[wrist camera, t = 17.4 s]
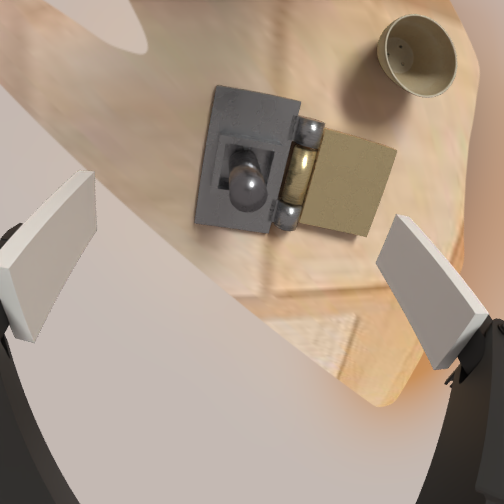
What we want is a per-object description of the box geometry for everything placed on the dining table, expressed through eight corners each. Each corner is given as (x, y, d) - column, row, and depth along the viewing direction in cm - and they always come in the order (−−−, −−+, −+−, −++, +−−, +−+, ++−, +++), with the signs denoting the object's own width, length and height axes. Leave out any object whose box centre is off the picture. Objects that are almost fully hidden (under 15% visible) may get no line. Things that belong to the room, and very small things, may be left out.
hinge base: (216, 85, 34) (215, 86, 31) (324, 107, 36) (333, 111, 34) (195, 219, 43) (192, 232, 40) (290, 233, 46) (295, 246, 43)
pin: (230, 148, 38) (231, 174, 29) (260, 152, 38) (270, 179, 30) (226, 176, 39) (227, 210, 31) (255, 179, 40) (264, 214, 32)
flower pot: (431, 36, 31) (463, 36, 25) (417, 100, 36) (447, 109, 30) (367, 8, 29) (393, 0, 23) (353, 77, 34) (377, 80, 28)
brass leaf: (298, 121, 37) (301, 124, 35) (393, 148, 38) (402, 153, 36) (275, 214, 44) (276, 223, 41) (364, 233, 45) (369, 242, 43)
